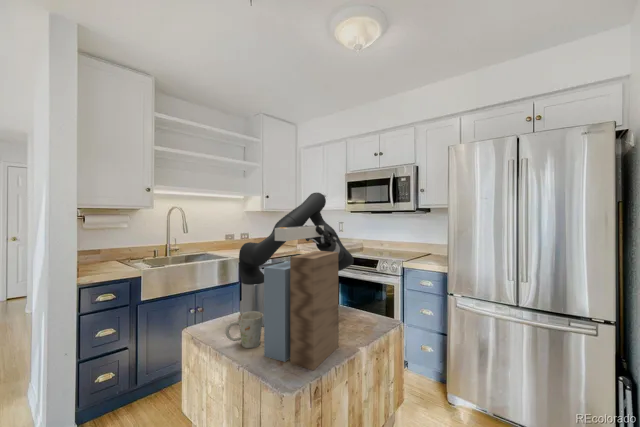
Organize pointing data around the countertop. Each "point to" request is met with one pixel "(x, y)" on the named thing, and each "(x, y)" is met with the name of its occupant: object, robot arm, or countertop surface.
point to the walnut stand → (313, 308)
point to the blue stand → (277, 311)
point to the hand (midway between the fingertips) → (311, 227)
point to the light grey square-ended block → (296, 233)
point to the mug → (248, 329)
